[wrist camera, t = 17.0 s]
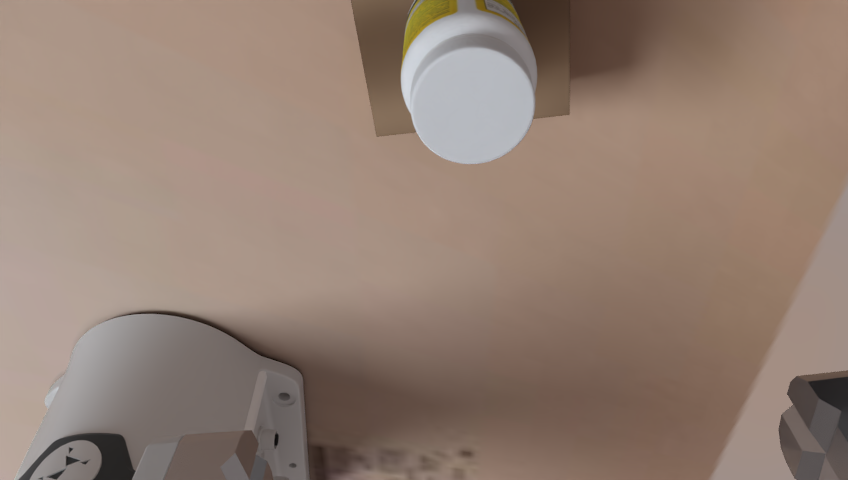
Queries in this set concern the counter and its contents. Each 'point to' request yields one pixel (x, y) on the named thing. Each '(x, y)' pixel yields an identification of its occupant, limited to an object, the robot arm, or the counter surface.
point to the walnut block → (383, 50)
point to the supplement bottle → (468, 77)
